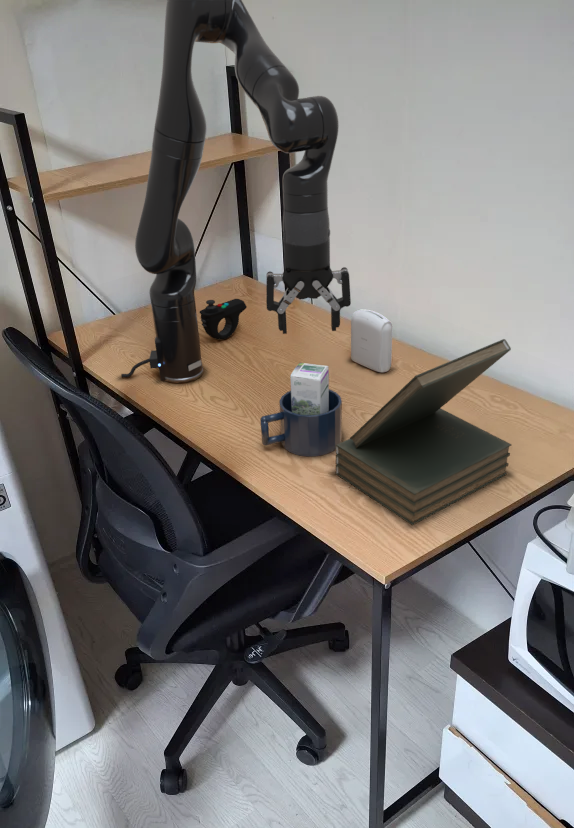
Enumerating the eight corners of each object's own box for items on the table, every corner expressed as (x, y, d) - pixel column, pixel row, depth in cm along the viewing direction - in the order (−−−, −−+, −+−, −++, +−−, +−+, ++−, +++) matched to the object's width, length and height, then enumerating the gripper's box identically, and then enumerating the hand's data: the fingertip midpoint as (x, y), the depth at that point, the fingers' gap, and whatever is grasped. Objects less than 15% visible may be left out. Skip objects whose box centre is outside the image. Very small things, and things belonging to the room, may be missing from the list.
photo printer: (347, 360, 176) (348, 308, 169) (361, 354, 178) (362, 302, 171) (380, 375, 169) (381, 321, 162) (394, 369, 171) (396, 315, 164)
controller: (199, 342, 187) (195, 302, 181) (239, 327, 193) (236, 287, 188) (210, 347, 184) (206, 306, 178) (250, 331, 191) (247, 292, 185)
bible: (427, 431, 150) (437, 306, 135) (507, 474, 137) (528, 342, 122) (335, 473, 139) (334, 343, 124) (412, 525, 126) (422, 386, 111)
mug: (326, 420, 154) (326, 381, 149) (351, 448, 146) (351, 407, 141) (252, 438, 150) (249, 398, 145) (273, 467, 142) (271, 426, 137)
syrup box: (330, 433, 150) (329, 364, 141) (321, 448, 145) (320, 378, 137) (301, 429, 151) (299, 360, 143) (292, 444, 147) (289, 374, 138)
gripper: (348, 227, 129) (347, 320, 139) (262, 231, 129) (267, 324, 139) (352, 241, 123) (352, 337, 133) (262, 246, 123) (268, 342, 132)
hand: (309, 330), depth 136 cm, fingers open, 8 cm apart
